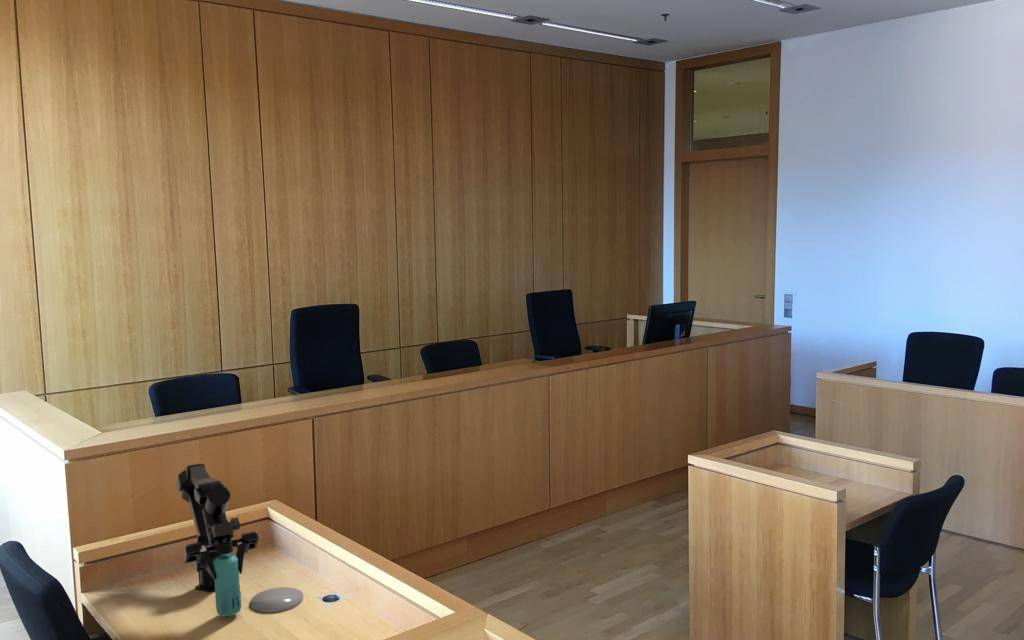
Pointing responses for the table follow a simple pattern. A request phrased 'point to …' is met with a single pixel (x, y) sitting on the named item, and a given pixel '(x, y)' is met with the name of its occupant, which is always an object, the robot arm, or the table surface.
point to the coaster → (276, 600)
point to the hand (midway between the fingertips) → (228, 576)
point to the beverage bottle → (227, 581)
